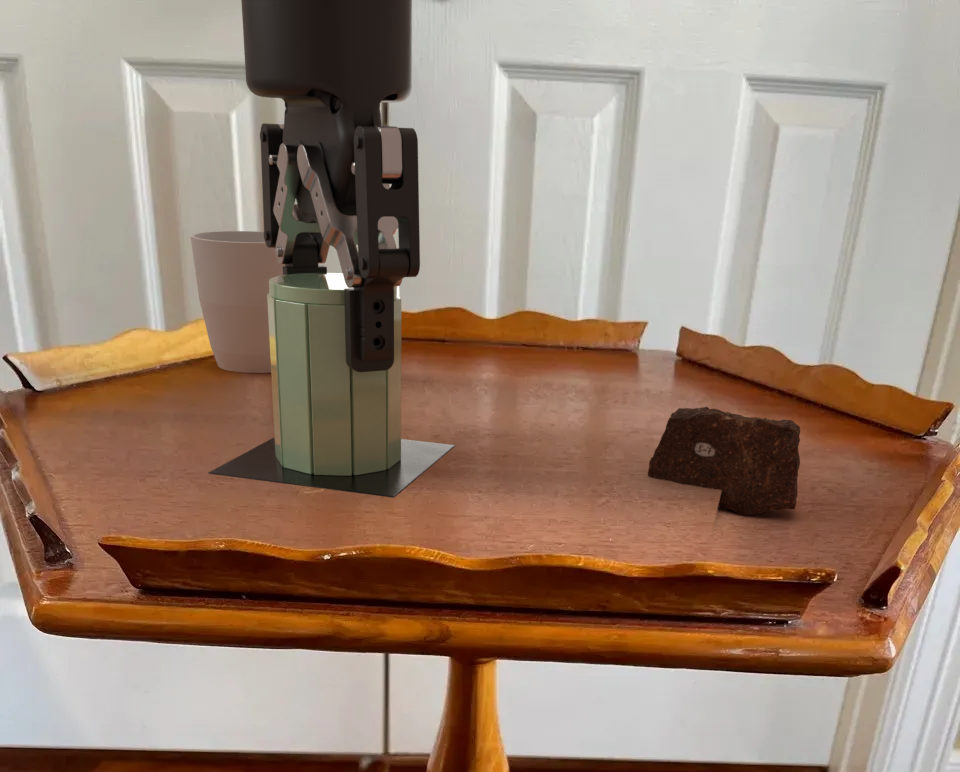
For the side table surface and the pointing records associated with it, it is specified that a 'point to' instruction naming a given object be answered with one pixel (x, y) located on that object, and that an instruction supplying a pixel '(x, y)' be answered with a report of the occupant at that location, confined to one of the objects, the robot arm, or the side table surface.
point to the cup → (236, 296)
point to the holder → (383, 483)
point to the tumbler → (328, 383)
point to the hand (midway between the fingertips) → (337, 353)
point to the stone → (731, 458)
